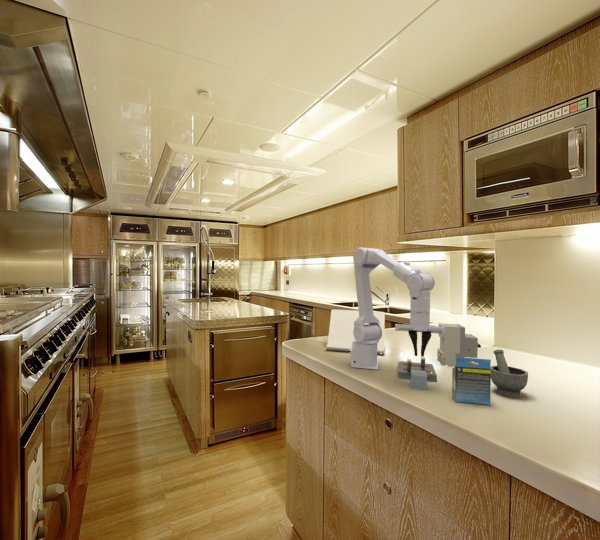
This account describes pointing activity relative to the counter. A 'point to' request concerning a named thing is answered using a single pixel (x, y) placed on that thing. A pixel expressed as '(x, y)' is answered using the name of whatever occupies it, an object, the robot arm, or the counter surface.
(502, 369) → the mortar and pestle
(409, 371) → the panel
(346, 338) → the tablet stand
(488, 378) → the label tape cartridge
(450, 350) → the circuit breaker
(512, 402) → the counter surface
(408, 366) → the tagged lever
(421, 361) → the plain lever
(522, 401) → the counter surface
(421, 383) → the cap
